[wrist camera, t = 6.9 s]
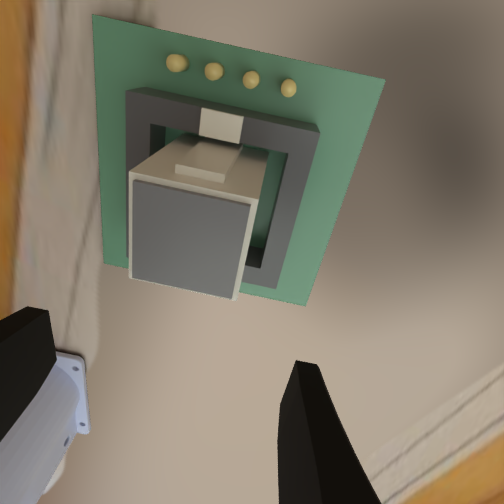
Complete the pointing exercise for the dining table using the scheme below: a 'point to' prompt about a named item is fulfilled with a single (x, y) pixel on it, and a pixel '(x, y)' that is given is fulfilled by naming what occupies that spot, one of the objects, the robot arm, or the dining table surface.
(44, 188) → the dining table surface
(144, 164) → the plug
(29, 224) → the dining table surface
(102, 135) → the header socket
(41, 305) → the dining table surface
